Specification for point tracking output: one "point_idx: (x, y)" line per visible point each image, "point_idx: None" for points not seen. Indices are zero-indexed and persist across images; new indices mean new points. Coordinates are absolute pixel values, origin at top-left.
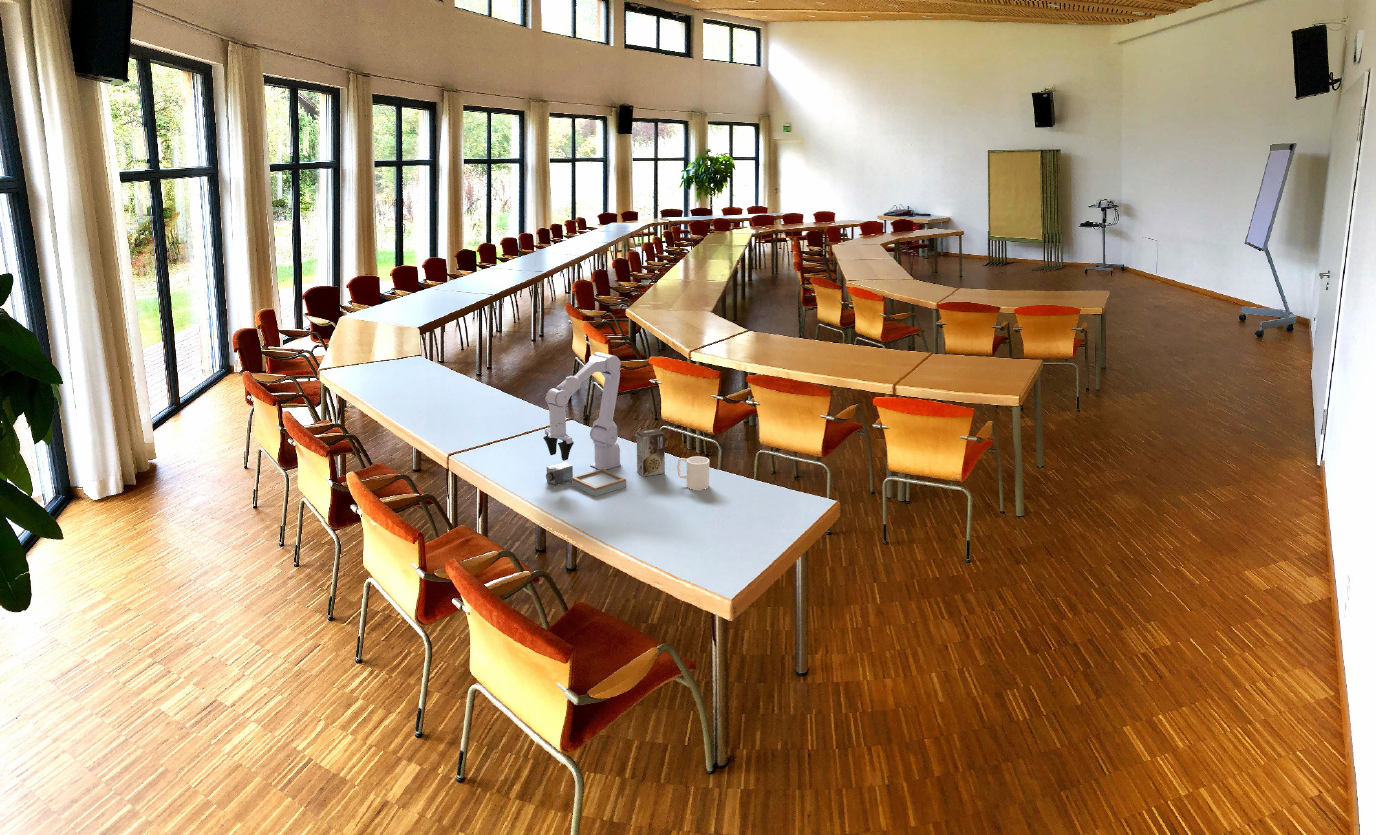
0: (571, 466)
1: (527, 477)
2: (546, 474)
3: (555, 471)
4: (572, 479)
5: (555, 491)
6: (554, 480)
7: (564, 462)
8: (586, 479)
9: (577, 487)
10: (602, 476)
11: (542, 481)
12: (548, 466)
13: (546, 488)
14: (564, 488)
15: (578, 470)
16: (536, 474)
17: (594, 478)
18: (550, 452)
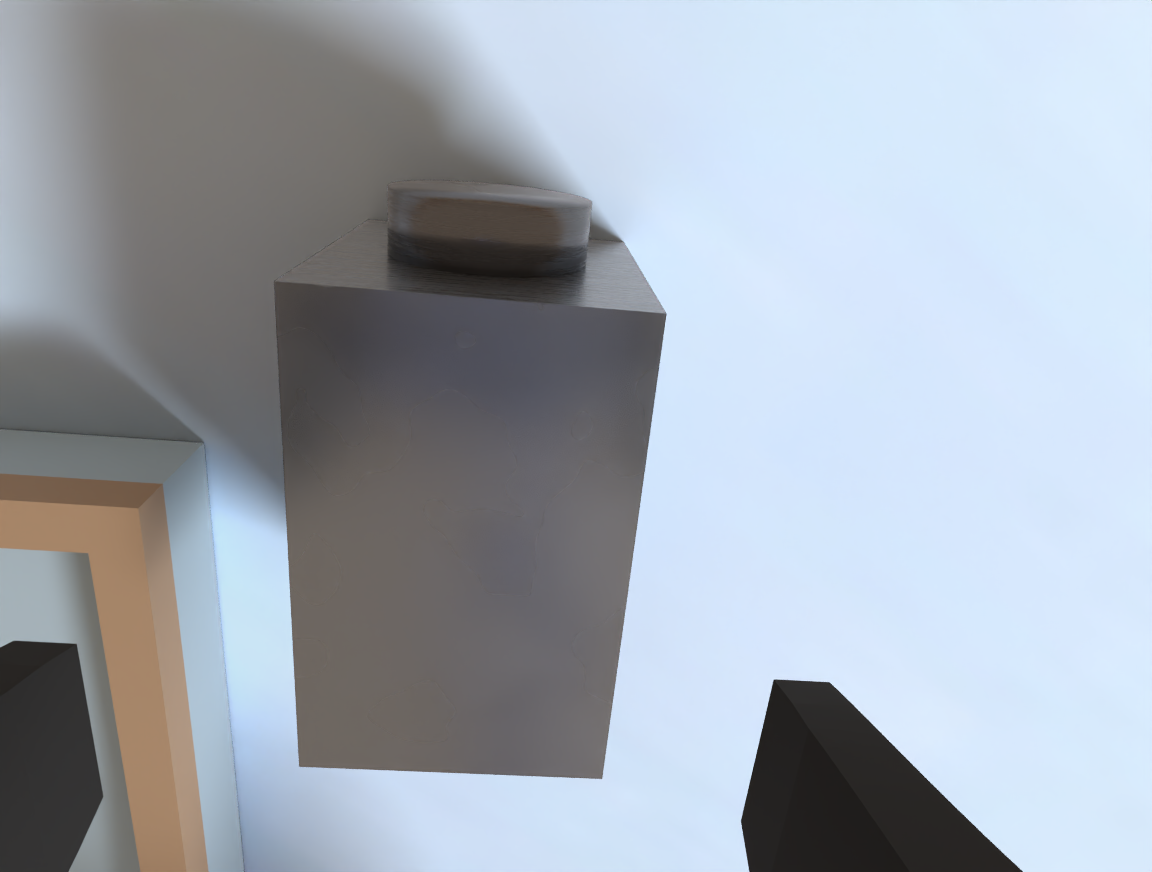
0: (299, 733)
1: (1083, 132)
2: (564, 203)
3: (286, 310)
4: (123, 489)
5: (106, 27)
6: (352, 236)
7: (581, 763)
8: None
9: (28, 432)
10: None
11: (709, 201)
12: (656, 376)
13: (362, 4)
14: (146, 260)
15: (636, 826)
16: (1035, 345)
17: None
18: (816, 743)
